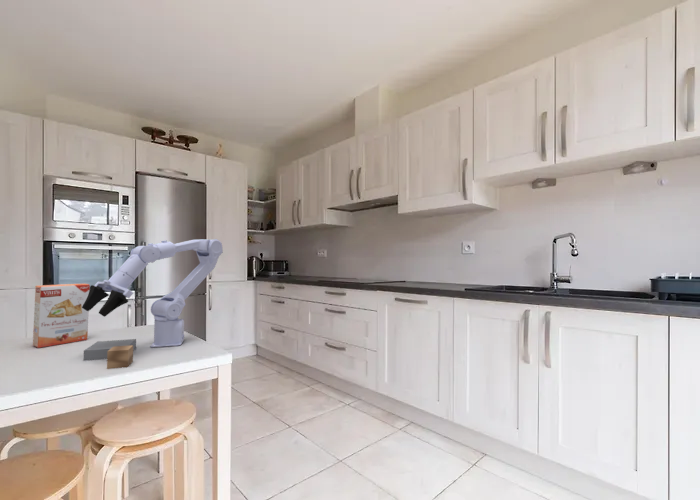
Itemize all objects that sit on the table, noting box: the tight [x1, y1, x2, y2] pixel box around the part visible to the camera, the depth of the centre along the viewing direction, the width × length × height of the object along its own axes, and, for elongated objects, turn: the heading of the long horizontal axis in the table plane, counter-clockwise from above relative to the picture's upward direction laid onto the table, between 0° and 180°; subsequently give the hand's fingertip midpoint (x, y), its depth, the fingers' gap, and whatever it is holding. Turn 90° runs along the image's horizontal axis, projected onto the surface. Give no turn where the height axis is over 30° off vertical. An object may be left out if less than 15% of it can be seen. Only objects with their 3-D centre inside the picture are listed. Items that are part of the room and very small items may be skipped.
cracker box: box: [32, 283, 91, 349], centre depth 117 cm, size 14×6×21 cm, turn 148°
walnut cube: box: [106, 345, 134, 370], centre depth 95 cm, size 5×5×5 cm
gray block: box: [82, 338, 137, 362], centre depth 105 cm, size 11×11×4 cm
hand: (93, 312), depth 98 cm, fingers open, 7 cm apart
